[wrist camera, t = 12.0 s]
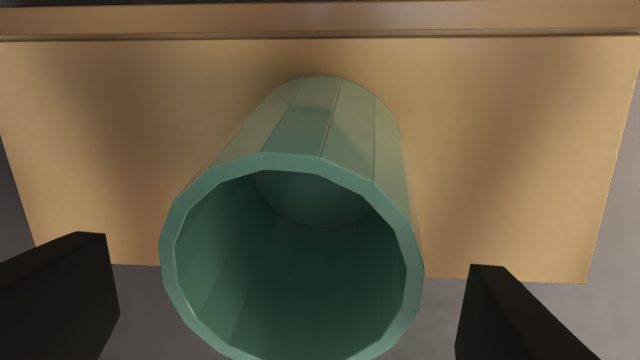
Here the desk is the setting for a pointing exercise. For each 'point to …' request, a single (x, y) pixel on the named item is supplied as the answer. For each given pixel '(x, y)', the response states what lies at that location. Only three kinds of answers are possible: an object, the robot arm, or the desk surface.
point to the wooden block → (339, 61)
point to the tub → (299, 230)
